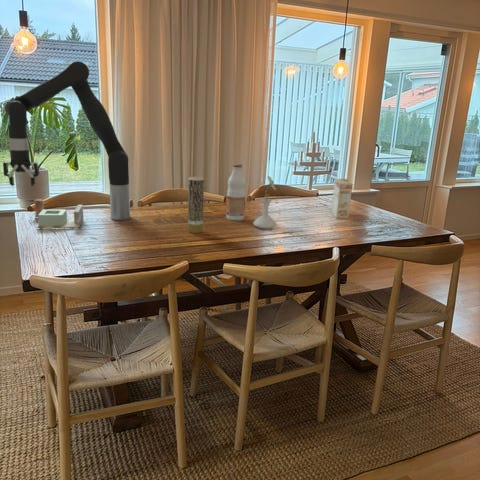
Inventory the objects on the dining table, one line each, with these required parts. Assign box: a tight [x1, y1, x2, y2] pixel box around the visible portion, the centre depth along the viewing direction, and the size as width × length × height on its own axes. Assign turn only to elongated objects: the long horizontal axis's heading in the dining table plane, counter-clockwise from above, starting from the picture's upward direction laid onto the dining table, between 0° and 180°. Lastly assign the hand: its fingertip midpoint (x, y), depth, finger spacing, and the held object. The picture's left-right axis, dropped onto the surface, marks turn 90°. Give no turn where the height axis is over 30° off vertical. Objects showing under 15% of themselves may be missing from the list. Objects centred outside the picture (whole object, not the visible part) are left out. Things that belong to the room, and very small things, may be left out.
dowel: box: [33, 198, 45, 218], centre depth 222 cm, size 4×4×8 cm
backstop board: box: [36, 204, 84, 230], centre depth 211 cm, size 18×14×8 cm
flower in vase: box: [253, 175, 277, 229], centre depth 221 cm, size 13×11×25 cm
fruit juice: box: [225, 163, 247, 221], centre depth 234 cm, size 9×9×28 cm
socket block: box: [37, 208, 68, 226], centre depth 210 cm, size 10×10×5 cm
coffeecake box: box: [331, 178, 354, 220], centre depth 251 cm, size 15×7×20 cm, turn 179°
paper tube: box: [187, 176, 205, 234], centre depth 208 cm, size 7×7×25 cm
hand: (22, 185), depth 204 cm, fingers open, 8 cm apart
